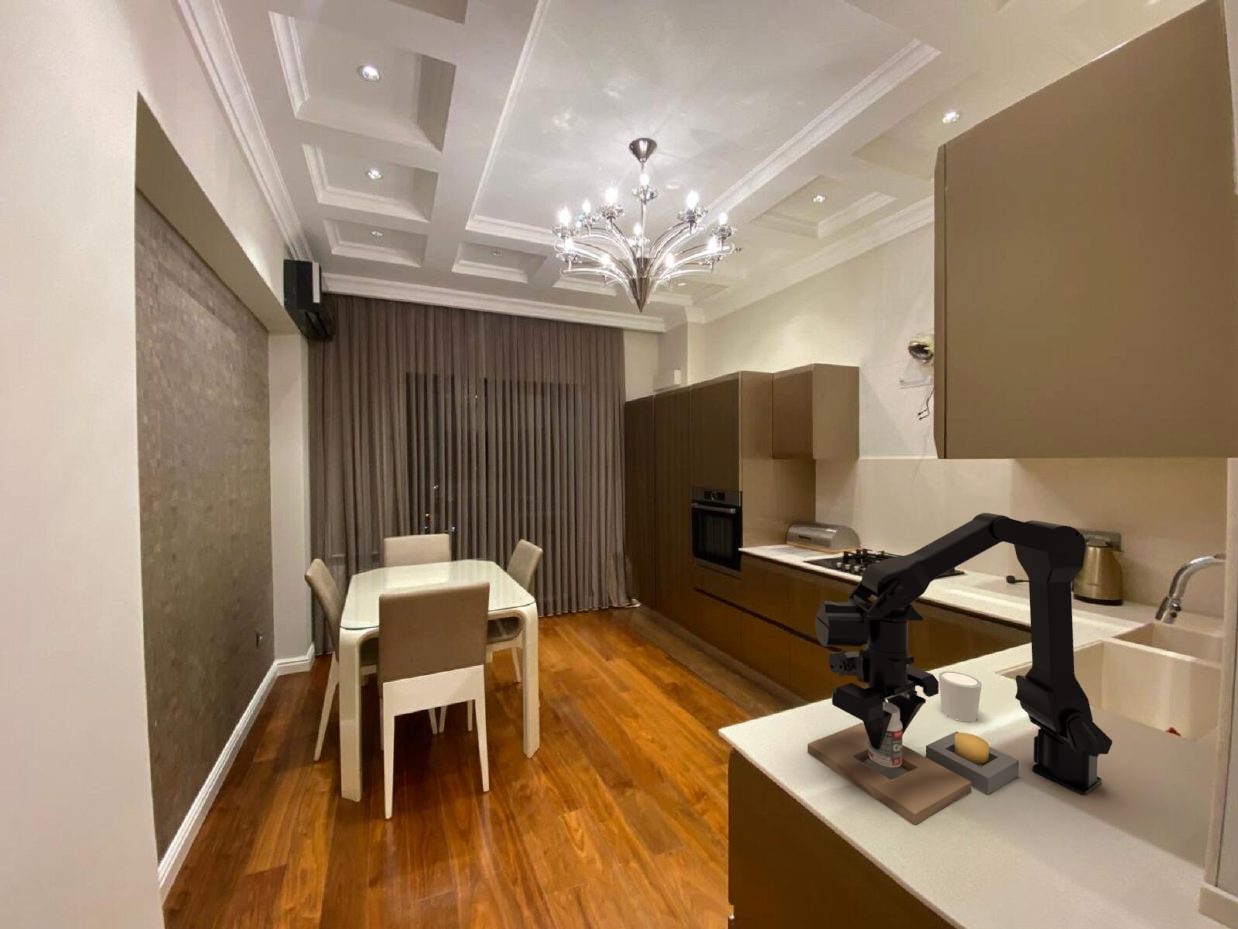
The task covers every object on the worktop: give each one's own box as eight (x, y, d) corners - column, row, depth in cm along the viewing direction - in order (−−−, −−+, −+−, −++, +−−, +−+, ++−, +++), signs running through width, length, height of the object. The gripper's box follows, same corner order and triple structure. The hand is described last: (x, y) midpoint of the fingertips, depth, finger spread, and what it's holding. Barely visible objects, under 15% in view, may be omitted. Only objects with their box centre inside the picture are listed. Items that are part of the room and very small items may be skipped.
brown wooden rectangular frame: (971, 792, 72) (971, 782, 72) (914, 825, 66) (915, 814, 66) (861, 730, 88) (861, 722, 88) (807, 752, 82) (807, 743, 82)
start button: (994, 759, 77) (994, 744, 77) (979, 768, 75) (979, 752, 75) (963, 745, 81) (964, 730, 81) (948, 752, 79) (949, 737, 79)
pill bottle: (899, 772, 74) (900, 718, 74) (865, 761, 77) (866, 708, 76) (904, 757, 78) (904, 705, 77) (871, 746, 80) (871, 696, 80)
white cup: (929, 709, 96) (930, 674, 96) (951, 702, 99) (952, 668, 99) (967, 727, 90) (968, 689, 89) (988, 719, 93) (989, 682, 92)
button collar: (1018, 776, 76) (1018, 760, 76) (988, 795, 72) (988, 778, 72) (956, 745, 84) (956, 731, 84) (925, 760, 80) (925, 745, 80)
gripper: (876, 621, 88) (875, 706, 88) (804, 639, 79) (803, 733, 80) (941, 642, 78) (939, 737, 79) (866, 665, 70) (865, 773, 70)
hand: (885, 743), depth 77 cm, fingers closed on pill bottle, 5 cm apart
